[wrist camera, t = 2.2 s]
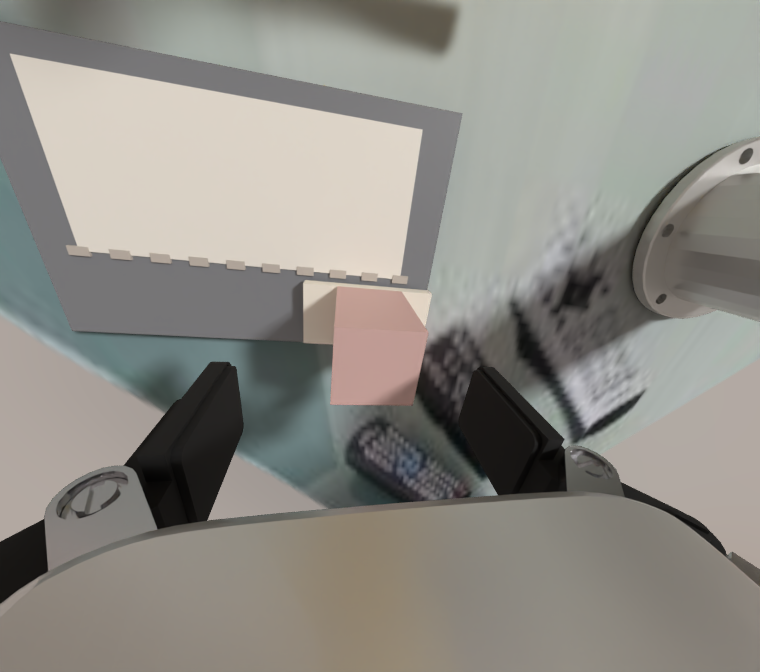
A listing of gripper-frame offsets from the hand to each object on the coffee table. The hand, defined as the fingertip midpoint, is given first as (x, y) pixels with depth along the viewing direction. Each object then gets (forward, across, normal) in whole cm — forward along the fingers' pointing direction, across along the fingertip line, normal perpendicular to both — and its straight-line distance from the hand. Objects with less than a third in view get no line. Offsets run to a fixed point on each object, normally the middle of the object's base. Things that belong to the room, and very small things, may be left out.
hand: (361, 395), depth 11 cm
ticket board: (+10, +6, -5) cm, 13 cm away
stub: (+8, -1, 0) cm, 8 cm away
